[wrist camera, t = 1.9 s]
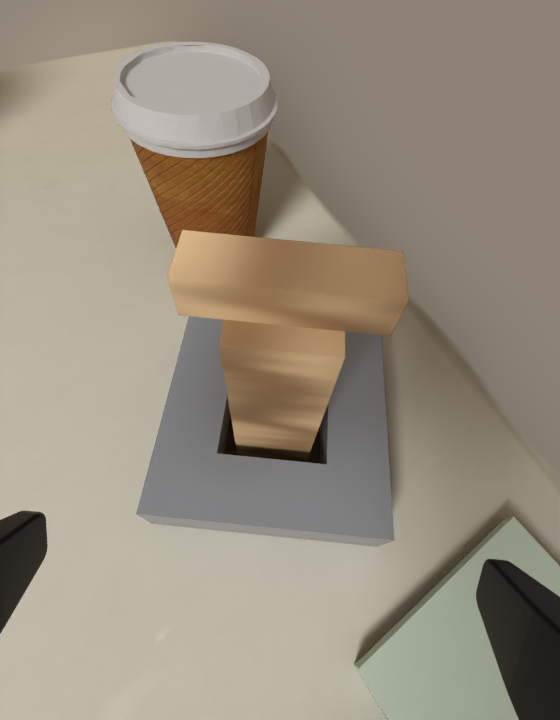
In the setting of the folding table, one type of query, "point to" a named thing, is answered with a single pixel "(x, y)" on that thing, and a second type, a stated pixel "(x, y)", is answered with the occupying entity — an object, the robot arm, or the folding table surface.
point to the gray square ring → (272, 476)
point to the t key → (284, 325)
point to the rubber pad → (452, 640)
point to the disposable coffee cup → (198, 131)
